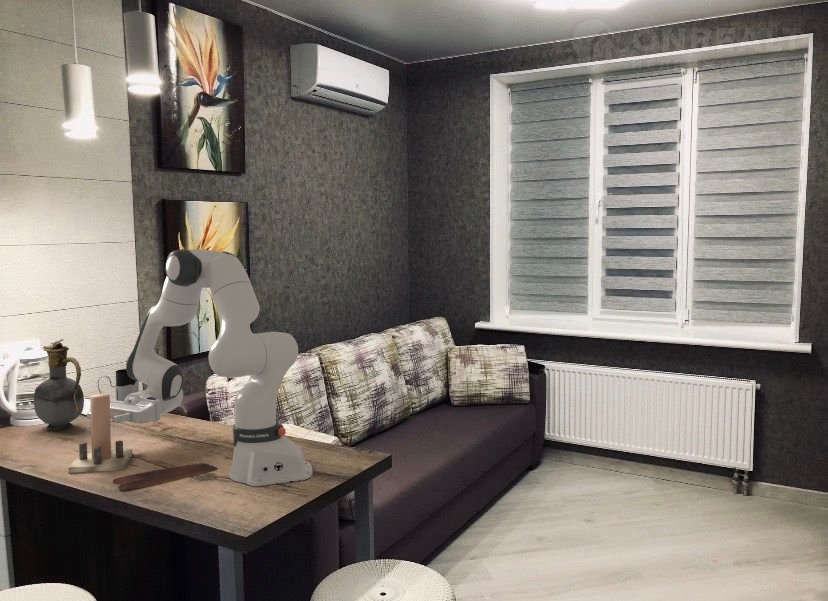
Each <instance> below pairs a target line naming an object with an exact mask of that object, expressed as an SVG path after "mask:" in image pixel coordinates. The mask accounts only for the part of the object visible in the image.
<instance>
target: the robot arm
mask: <svg viewBox="0 0 828 601" xmlns="http://www.w3.org/2000/svg"><path fill="white" fill-rule="evenodd" d="M164 270H165V274H166V276H165V277H166V278H165V280H164V283H163V287H162V290H161V295H160V298H159V301H158V302H157V304H155V305H153V306H151V307H150V308H149V310H148V312H147V314H146V315H145V318H144V320H143V322H142V325H141V328H140V330H139V334H138V336H137V339H136V342H135V344H134V346H133V349H132V350H131V353H130V355H129V356H128V357H127V359H126V363H125V369H126V371H127V374H128V376H129V377H130V378H132V379H135V380H137V381H139V382H141V383H143V384H144V385H146V386H147V388H146V389H144V390H139V392H136V393H132V394H129V395H127V396H126V398H125V399H124V401H117V400H116V399H110V420H112V423H113V424H118V423H123V422H124V423H126V422H129V423H134V424H147V423H151V422H152V423H153V422H158V421H161V416H162V415H164V414H166V413H169V412H172V411H174V410H175V409H176V408H178V407H179V406H180V405H181V403H182V402H183V399H184V391H183V389H182V388H183V383H184V372H183V369H182V367H181V366H180V365H179V364H177V363H174V361H171V360H169V359H166V357H164V356H163V357H162V356H161V355H159V354H157V353H156V351H155V346H156V343H157V340H158V338H159V335H160V333H161V330H162V329H163V327H180V326H184V325H186V324H188V323H190V322H192V320H193V319H194V318H196V317H195V316H196V315H197V313H198V309H199V304H200V299H201V294H202V291H203V288H204V289H206V288H209V289H210V292H211V296H212V298H213V301H214V305H215V308H216V310H217V314H218V318H219V322H220V323H219V325H220V326H219V327H220V328H219V334H218V336H217V338H216V340H215V341H214V343H213V344H212V345H211V347H210V349H209V350H208V351H209V352H208V364H209V367H210V369H211V370H212V371H213V373H214V374H215V375H216V376H217V377H222V378H242V377H249V376H250V377H249V379H248V381H247V383H246V384H245V385H244V386H243V387H242V388H241V389H240V390H239V391H237V393H236V395H235V398H234V401H233V402H234V424H232V426H233V427H232V444H233V455H232V461H231V466H230V470H229V474H228V477H229V478H230V479H231V481H234V482H237V483H242V484H246V485H248V486H251V487H260V486H261V487H262V486H268V485H277V483H278V484H282V483H283V484H285V483H291V482H290V481H293V482H297V481H299V480H300V481H306V479H307V480H308V478H309V479H310V478H311V477H312V476H313V466H312V464H311V463H310V462H309V461H306V460H305V456H304V453H303V450H302V448H301V447H300V446H299V445H298V444H297V443H295V442H293V441H292V440H290V439H289V438H287V437H286V436H285V435H286V428H285V427H284V425H283V424H282V422H278V421H277V402H278V400H277V399H278V393H279V390H280V387H281V384H282V381H283V379H284V377H285V376H286V374H287V372H288V370H289V369H290V368H291V367H292V366H293V365H294V364H296V362H297V359H298V356H299V346H298V343H297V341H296V339H295V338H294V336H293V335H292V334H290V333H288V332H279V331H269V332H268V331H267V332H260V333H259V332H258V333H253V331H252V330H251V324H252V323H253V322H254V321H255V320H256V319H257V318H258V317H259V313H260V310H261V307H260V303H259V301H258V299H257V296H256V293H255V290H254V287H253V284H252V282H251V280H250V278H249V276H248V273H247V271H246V270H245V268H244V266H243V263H241V261H240V259H239V258H238V256H236V255H235V254H234V253H231V252H228V251H223V250H222V251H218V250H212V249H211V250H210V249H205V248H204V249H203V248H198V249H197V248H194V249H186V248H182V249H177V250H173V251H171V252H170V253H169V254H168V256H167V258H166V261H165V266H164ZM86 416H87V419H90V420H91V407H89V412H87V413H86ZM300 481H299V482H300Z"/></svg>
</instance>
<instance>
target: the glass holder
mask: <svg viewBox="0 0 828 601" xmlns="http://www.w3.org/2000/svg"><path fill="white" fill-rule="evenodd" d="M102 378H107V379H108V380H109V385H110V387H111V388H115V400H117V401H124V399H125V398H126V396H127V395H129V394H132V393H136V392H139V391H140V389H139V386H140V384H139V382H140V381H137V380H135V379H132V378H130V377H129V376H128V374H127V371H126V368H123V369H117V370H116V371H115V385H112V380H111V378H110V376H107V375H102V376H99V378H98V379H97V383H96V384H97V389H98V391H99V394H103V393H102V391H101V390H100V384H99V382H100V380H101V379H102Z"/></svg>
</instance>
